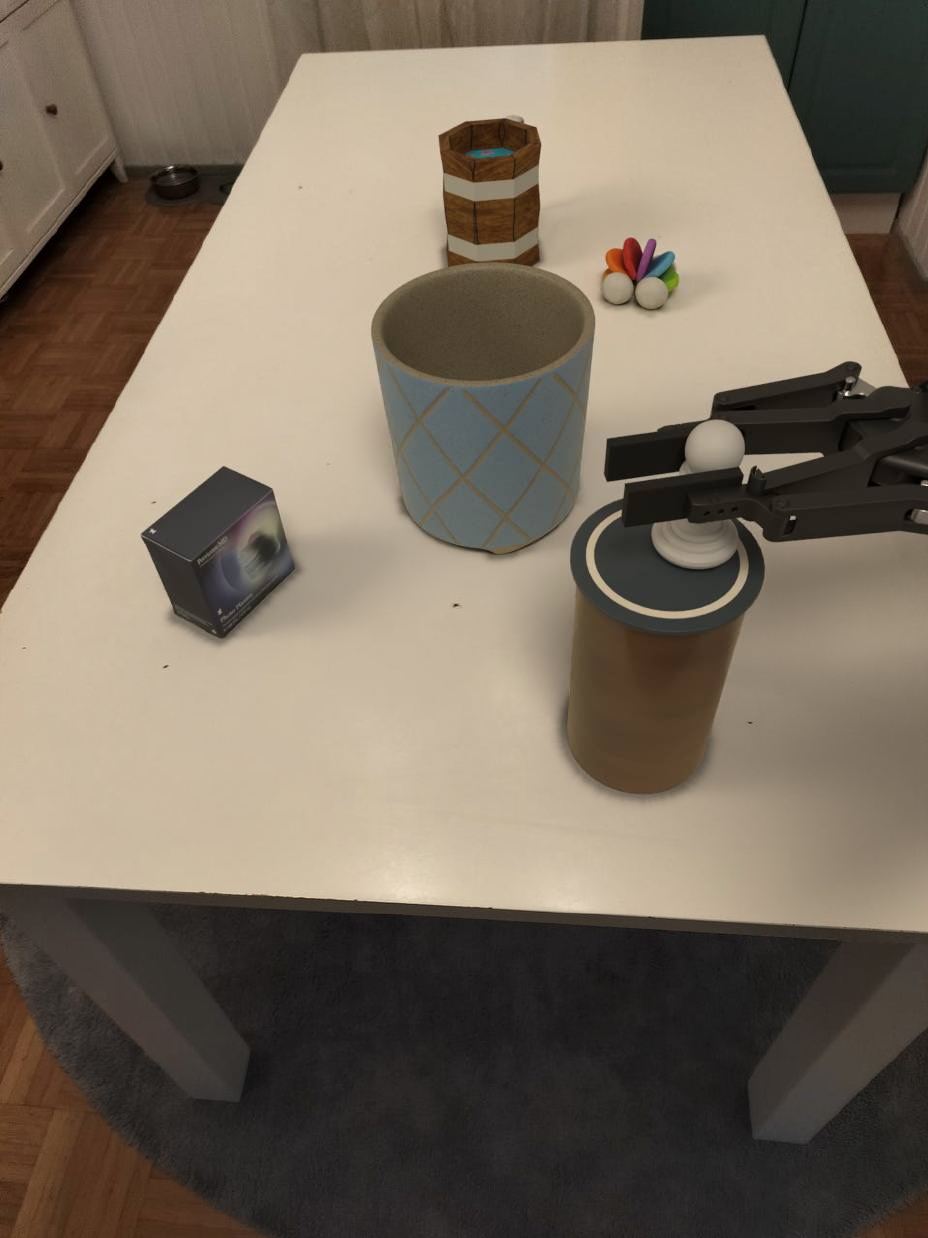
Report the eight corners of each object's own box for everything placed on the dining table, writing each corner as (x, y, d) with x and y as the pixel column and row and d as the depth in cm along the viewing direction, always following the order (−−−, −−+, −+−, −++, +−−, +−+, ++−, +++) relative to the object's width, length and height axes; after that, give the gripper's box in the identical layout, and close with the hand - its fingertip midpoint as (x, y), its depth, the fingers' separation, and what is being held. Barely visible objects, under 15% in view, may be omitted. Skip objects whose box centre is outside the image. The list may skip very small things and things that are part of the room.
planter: (359, 512, 89) (324, 338, 74) (471, 414, 99) (461, 241, 83) (512, 591, 81) (508, 414, 66) (619, 477, 91) (638, 298, 75)
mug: (526, 286, 115) (525, 167, 104) (429, 274, 119) (419, 158, 107) (564, 216, 127) (568, 103, 116) (475, 207, 130) (470, 95, 119)
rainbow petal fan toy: (610, 272, 116) (614, 217, 111) (683, 282, 114) (691, 227, 108) (592, 305, 112) (596, 250, 106) (668, 317, 109) (676, 261, 103)
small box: (224, 643, 79) (190, 563, 71) (172, 615, 82) (134, 534, 74) (299, 568, 85) (275, 486, 77) (249, 544, 87) (221, 462, 79)
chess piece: (732, 513, 57) (761, 397, 50) (741, 574, 54) (772, 459, 47) (649, 511, 58) (665, 396, 51) (651, 571, 54) (670, 457, 47)
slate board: (805, 589, 54) (807, 583, 53) (638, 665, 51) (639, 660, 50) (687, 475, 61) (688, 470, 60) (535, 536, 58) (535, 531, 57)
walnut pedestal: (734, 757, 69) (793, 586, 54) (614, 817, 66) (641, 656, 51) (653, 659, 76) (685, 482, 60) (542, 710, 73) (545, 539, 57)
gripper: (1055, 569, 50) (648, 632, 48) (917, 396, 60) (579, 444, 59) (1125, 466, 44) (665, 534, 43) (958, 295, 54) (585, 346, 53)
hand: (616, 482), depth 51 cm, fingers closed on chess piece, 3 cm apart
